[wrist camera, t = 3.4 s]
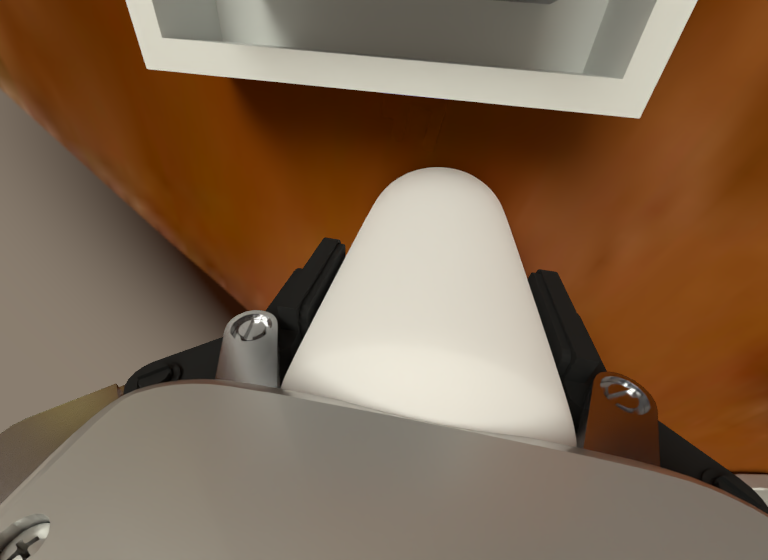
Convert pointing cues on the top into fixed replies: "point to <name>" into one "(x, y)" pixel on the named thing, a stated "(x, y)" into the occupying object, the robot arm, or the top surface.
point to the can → (436, 317)
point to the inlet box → (427, 47)
